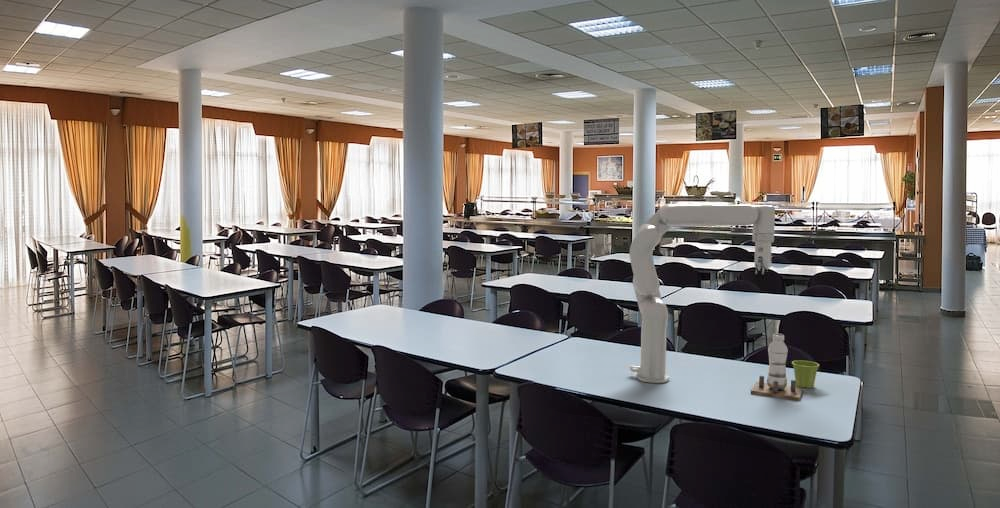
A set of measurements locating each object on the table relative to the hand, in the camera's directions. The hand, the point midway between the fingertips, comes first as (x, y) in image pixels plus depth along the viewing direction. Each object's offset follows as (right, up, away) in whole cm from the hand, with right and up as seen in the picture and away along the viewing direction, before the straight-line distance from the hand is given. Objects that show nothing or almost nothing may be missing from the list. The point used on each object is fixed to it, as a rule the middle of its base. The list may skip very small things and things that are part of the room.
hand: (761, 283), depth 239 cm
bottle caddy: (+2, -39, -9) cm, 40 cm away
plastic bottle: (+2, -38, -9) cm, 39 cm away
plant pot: (+16, -39, -1) cm, 42 cm away
